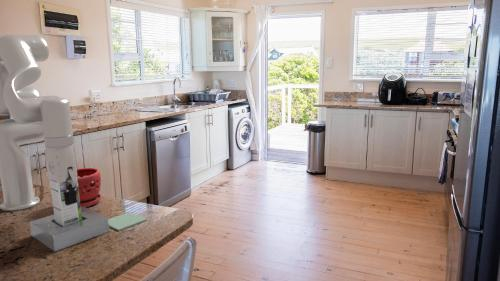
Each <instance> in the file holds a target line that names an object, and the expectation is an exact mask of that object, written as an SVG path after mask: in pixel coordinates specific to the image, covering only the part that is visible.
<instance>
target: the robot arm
mask: <svg viewBox="0 0 500 281" xmlns="http://www.w3.org/2000/svg"><path fill="white" fill-rule="evenodd" d="M49 56H50V48H49V45H48V43H47V40H45V38H43V37H42V36H41V35H38V34H37V35H36V34H35V35H34V34H18V33H17V34H15V33H13V34H12V33H11V34H4V35H0V116H11V118H7V119H0V182H1V189H2V196H3V202H1V203H0V210H2V211H6V212H7V211H10V212H11V211H13V212H14V211H19V210H25V209H29V208H32V207H34V206H36V205H38V204H39V203H40V197H38V196H35V191H34V185H33V178H32V176H33V175H32V169H31V164H30V163H31V162H30V157H29V155H28V153H27V152H26V151H25V150H23V149H22V147H20V146H22V145H27V144H34V143H38V142H44V149H45V165H46V169H45V170H46V177H47V178H48V179H49V177H50V178H51V179H52V180H54V181H56V182H58V183H63V185H64V188H65V192H64V197H65V205H70V204H74V203H77V196H76V185H77V183H78V181H77V178H78V177H77V169H78V168H77V162H76V157H75V152H74V148H73V147H74V146H75V142H74V141H75V140H74V139H75V138H74V132H73V122H72V112H71V104H70V103H71V102H70V101H69V99H67V98H63V97H60V96H58V95H45V96H44V95H43V96H41V93H40V92H39V90H37V88H34V87H31V86H30V85H32V84H34V83H36V82H37V81H38V80H39V79H40V77H41V75H42V71H41V70H42V69H41V68H40V65H39V64H38V62H39V63H40V62H45V61H47V60H48V58H49ZM69 178H70V180H68V181H66V179H69ZM70 182H71V183H70ZM67 183H70V184H69V185H68V186H67Z"/></svg>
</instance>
